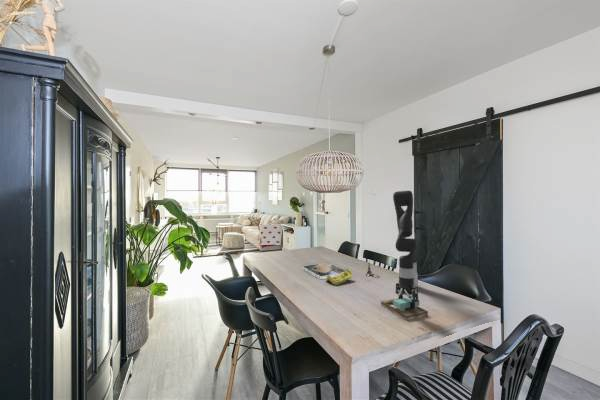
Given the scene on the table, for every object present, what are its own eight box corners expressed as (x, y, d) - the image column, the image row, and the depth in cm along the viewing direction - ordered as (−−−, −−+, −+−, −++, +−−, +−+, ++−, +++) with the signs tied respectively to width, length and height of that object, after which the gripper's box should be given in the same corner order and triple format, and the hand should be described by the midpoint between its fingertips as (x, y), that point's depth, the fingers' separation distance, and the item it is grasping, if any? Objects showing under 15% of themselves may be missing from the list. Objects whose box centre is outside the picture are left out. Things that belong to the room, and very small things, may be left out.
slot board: (400, 301, 158) (400, 297, 158) (427, 315, 139) (427, 311, 139) (381, 305, 153) (381, 301, 153) (406, 320, 134) (406, 315, 134)
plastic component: (336, 282, 188) (327, 273, 195) (333, 290, 191) (324, 281, 198) (355, 275, 199) (346, 267, 206) (352, 283, 202) (343, 274, 209)
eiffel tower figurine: (381, 277, 207) (380, 260, 207) (369, 279, 204) (369, 262, 203) (369, 272, 221) (369, 256, 221) (359, 274, 218) (359, 257, 218)
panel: (412, 306, 148) (412, 296, 148) (419, 310, 143) (419, 300, 143) (393, 310, 144) (393, 300, 144) (399, 314, 139) (399, 303, 139)
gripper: (422, 278, 138) (422, 309, 138) (402, 271, 151) (402, 300, 151) (410, 280, 135) (410, 312, 136) (391, 273, 149) (391, 302, 149)
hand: (406, 305), depth 143 cm, fingers open, 8 cm apart
